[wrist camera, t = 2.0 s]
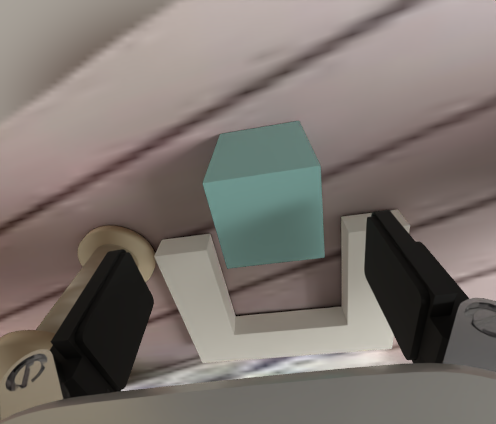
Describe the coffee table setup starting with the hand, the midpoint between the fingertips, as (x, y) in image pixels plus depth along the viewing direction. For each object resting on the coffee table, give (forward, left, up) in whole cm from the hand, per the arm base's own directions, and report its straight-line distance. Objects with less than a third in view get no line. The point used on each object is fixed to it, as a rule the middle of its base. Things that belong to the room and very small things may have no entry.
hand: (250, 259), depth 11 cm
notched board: (-1, +12, -9) cm, 15 cm away
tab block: (-1, 0, -9) cm, 9 cm away
